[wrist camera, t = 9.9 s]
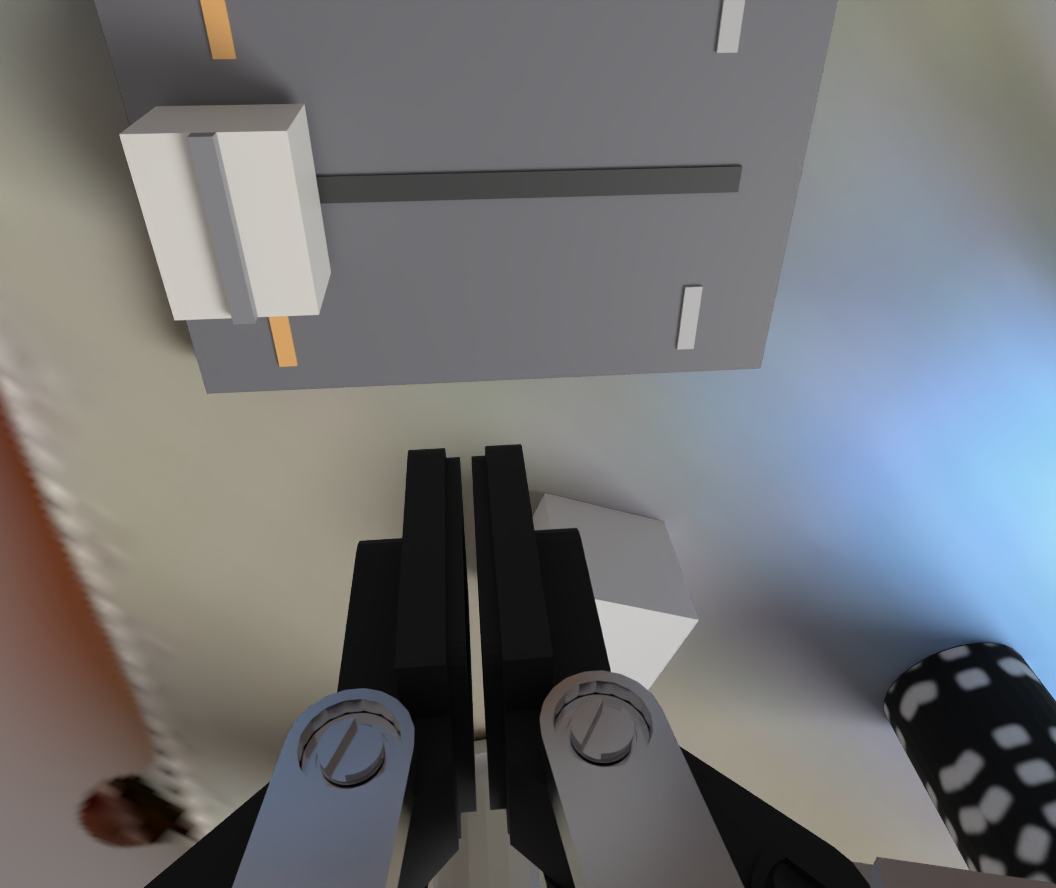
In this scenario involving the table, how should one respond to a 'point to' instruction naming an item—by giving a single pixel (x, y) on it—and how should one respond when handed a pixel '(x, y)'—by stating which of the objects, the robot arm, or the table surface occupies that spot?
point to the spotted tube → (984, 754)
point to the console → (508, 176)
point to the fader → (231, 209)
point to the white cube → (628, 583)
